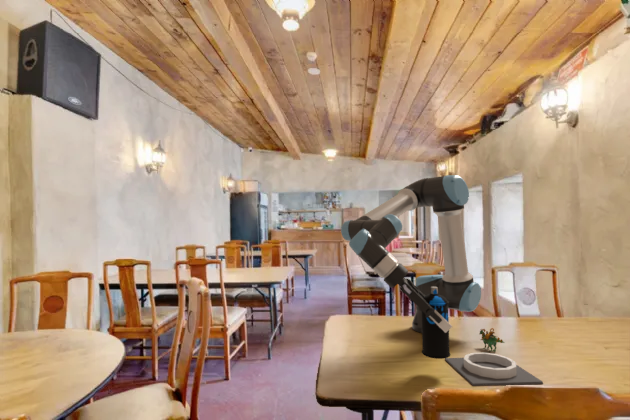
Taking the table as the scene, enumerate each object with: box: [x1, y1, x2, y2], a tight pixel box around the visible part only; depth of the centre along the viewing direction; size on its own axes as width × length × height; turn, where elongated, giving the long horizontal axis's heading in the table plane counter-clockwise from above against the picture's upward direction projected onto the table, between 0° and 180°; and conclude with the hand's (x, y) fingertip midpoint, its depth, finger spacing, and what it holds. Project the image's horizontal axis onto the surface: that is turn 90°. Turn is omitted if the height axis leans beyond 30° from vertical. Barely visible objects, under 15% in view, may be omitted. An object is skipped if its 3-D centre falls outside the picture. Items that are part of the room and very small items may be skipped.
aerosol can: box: [421, 287, 451, 360], centre depth 113 cm, size 8×8×20 cm
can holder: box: [444, 352, 544, 387], centre depth 115 cm, size 20×20×3 cm
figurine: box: [478, 327, 505, 352], centre depth 133 cm, size 3×12×8 cm, turn 17°
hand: (446, 325), depth 112 cm, fingers closed on aerosol can, 8 cm apart
